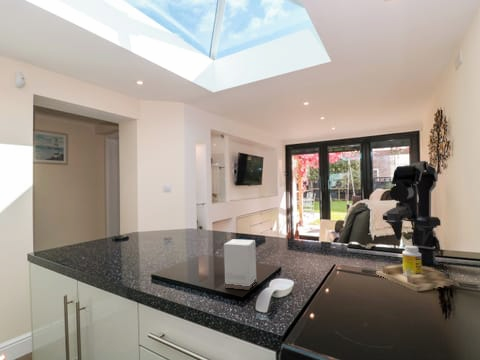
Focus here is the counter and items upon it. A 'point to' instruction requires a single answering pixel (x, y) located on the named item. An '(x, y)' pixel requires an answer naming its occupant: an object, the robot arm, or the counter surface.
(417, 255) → the supplement bottle
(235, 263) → the supplement box
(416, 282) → the stand
